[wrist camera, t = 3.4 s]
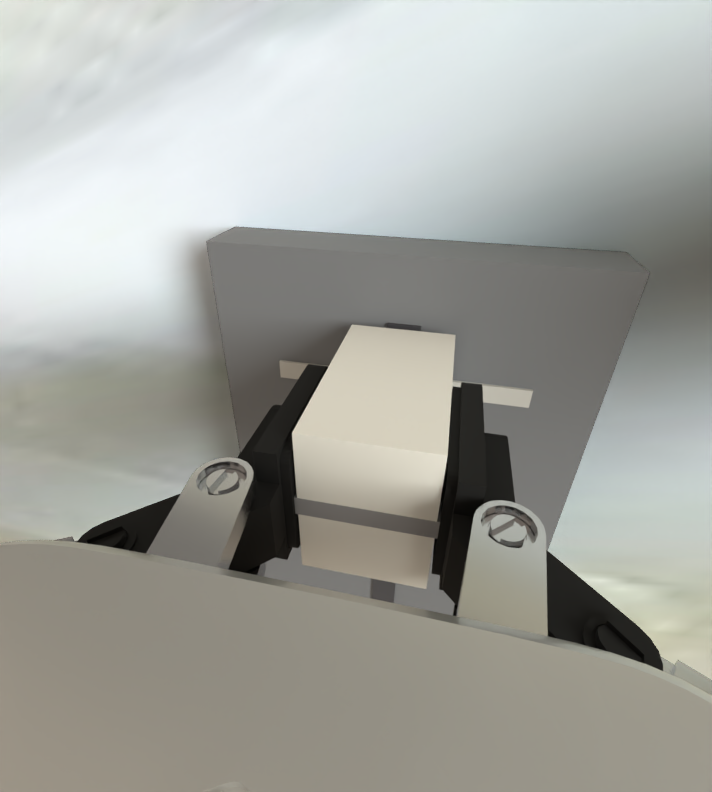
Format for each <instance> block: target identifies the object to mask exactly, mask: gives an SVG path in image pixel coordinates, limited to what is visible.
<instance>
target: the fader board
mask: <svg viewBox="0 0 712 792" xmlns="http://www.w3.org/2000/svg"><path fill="white" fill-rule="evenodd" d="M206 242H207V249H208V255H209V261H210V267H211V274H212V280H213V286H214V292H215V299H216V305H217V311H218V317H219V323H220V330H221V336H222V342H223V348H224V355H225V361H226V367H227V373H228V380H229V386H230V392H231V398H232V405H233V411H234V417H235V423H236V430H237V436H238V442H239V448H240V453H241V452H242V450H243V449H244V447H245V446H246V444H247V443H248V441H249V440H250V438H251V437H252V435H253V434H254V432H255V431H256V429H257V428H258V426H259V425H260V423H261V422H262V420H263V419H264V417H265V416H266V414H267V413H268V411H269V410H270V408H271V407H272V406H273V405H282V404H283V402H284V401H285V399H286V398H287V396H288V395H289V393H290V391H291V390H292V388H293V387H294V385H295V384H296V382H297V380H298V379H299V377H300V376H301V374H302V373H303V371H304V369H305V368H306V366H307V365H308V364H311V365H320V366H328V367H329V365H330V363H331V361H332V360H333V358H334V356H335V354H336V352H337V351H338V349H339V347H340V345H341V343H342V342H343V340H344V338H345V336H346V334H347V333H348V331H349V329H350V327H351V325H362V326H372V327H382V328H392V329H402V330H412V331H422V332H432V333H442V334H452V335H456V336H455V351H454V366H453V381H452V389H453V386H454V387H461V383H462V382H465V383H474V384H482V387H483V410H484V433H491V434H498V435H506V436H507V437H508V443H509V452H510V461H511V469H512V478H513V487H514V496H515V503H517V504H520V505H522V506H524V507H525V508H527V509H529V510H530V511H532V512H533V513H534V514H535V515H536V516H537V517H538V518H539V519H540V521H541V522H542V524H543V525H544V528H545V533H546V550H548V548H549V545H550V542H551V540H552V537H553V534H554V531H555V529H556V526H557V523H558V521H559V518H560V515H561V513H562V510H563V507H564V504H565V502H566V499H567V496H568V494H569V491H570V488H571V485H572V483H573V480H574V477H575V475H576V472H577V469H578V466H579V464H580V461H581V458H582V456H583V453H584V450H585V448H586V445H587V442H588V439H589V437H590V434H591V431H592V429H593V426H594V423H595V420H596V418H597V415H598V412H599V410H600V407H601V404H602V402H603V399H604V396H605V393H606V391H607V388H608V385H609V383H610V380H611V377H612V374H613V372H614V369H615V366H616V364H617V361H618V358H619V356H620V353H621V350H622V347H623V345H624V342H625V339H626V337H627V334H628V331H629V328H630V326H631V323H632V320H633V318H634V315H635V312H636V309H637V307H638V304H639V301H640V299H641V296H642V293H643V291H644V288H645V285H646V282H647V280H648V277H649V274H650V273H649V272H648V271H647V270H646V269H645V268H644V267H643V266H641V265H640V264H639V263H638V262H637V261H636V260H635V259H634V258H633V257H632V256H630V255H629V254H628V253H627V252H615V251H600V250H584V249H569V248H554V247H538V246H523V245H508V244H492V243H477V242H462V241H447V240H431V239H416V238H401V237H385V236H370V235H355V234H339V233H324V232H309V231H294V230H278V229H263V228H248V227H234V228H232V229H230V230H228V231H226V232H224V233H222V234H220V235H218V236H216V237H214V238H212V239H210V240H208V241H206ZM433 549H434V544H433ZM432 561H433V550H432V556H431V563H430V569H429V575H428V581H427V587H426V589H423V588H418V587H413V586H408V585H403V584H398V583H393V582H387V581H382V580H377V579H372V578H367V577H362V576H357V575H352V574H347V573H342V572H337V571H331V570H326V569H321V568H316V567H311V566H306V565H302V557H301V544H300V546H299V548H293V547H292V550H291V552H290V555H289V557H288V560H285V559H280V558H273V559H271V560H269V561H267V563H266V570H265V574H264V577H268V578H273V579H278V580H283V581H288V582H293V583H298V584H303V585H307V586H312V587H317V588H322V589H327V590H332V591H337V592H342V593H347V594H351V595H356V596H361V597H366V598H371V599H376V600H381V601H386V602H390V603H395V604H400V605H405V606H409V607H414V608H419V609H424V610H428V611H433V612H438V613H443V614H448V615H452V613H453V607H454V602H453V601H452V600H451V599H450V598H449V597H448V596H447V594H446V593H445V592H444V591H443V590H439V582H440V575H435V574H432Z"/></svg>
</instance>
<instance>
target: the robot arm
mask: <svg viewBox="0 0 712 792" xmlns="http://www.w3.org/2000/svg"><path fill="white" fill-rule="evenodd" d="M327 369H328V366H320V365H311V364H308V365H307V366H306V368H305V369H304V371H303V373H302V374H301V376H300V377H299V379H298V380H297V382H296V384H295V385H294V387H293V388H292V390H291V391H290V393H289V395H288V396H287V398H286V399H285V401H284V402H283V404H282V405H273V406H272V407H271V408H270V410H269V411H268V413H267V414H266V416H265V417H264V419H263V420H262V422H261V423H260V425H259V426H258V428H257V429H256V431H255V432H254V434H253V435H252V437H251V438H250V440H249V441H248V443H247V444H246V446H245V447H244V449H243V450H242V452H241V453H240V455H239V456H238V458H233V457H225V458H218V459H214V460H211V461H209V462H207V463H204V464H203V465H201V466H200V467H199V468H197V469H196V470H195V472H194V473H193V474H192V475H191V477H190V479H189V480H188V482H187V484H186V486H185V487H184V489H183V491H182V492H181V494H178V495H176V496H173V497H170V498H168V499H165V500H162V501H160V502H157V503H154V504H152V505H149V506H146V507H144V508H141V509H138V510H136V511H133V512H130V513H128V514H125V515H122V516H120V517H117V518H114V519H112V520H109V521H107V522H104V523H102V524H100V525H98V526H95V527H93V528H92V529H90V530H89V531H88V532H86V533H85V534H84V535H83V536H82V537H81V538H80V539H79V540H78V541H74V539H73V537H67V538H63V539H58V540H27V541H12V542H5V543H0V792H712V680H711V679H709V678H707V677H706V676H704V675H702V674H701V673H699V672H697V671H696V670H694V669H692V668H691V667H689V666H687V665H686V664H684V663H682V662H681V661H679V660H678V661H677V662H676V663H675V665H674V664H672V663H670V662H669V661H667V660H666V659H664V658H662V657H661V656H660V654H659V651H658V649H657V648H656V646H655V645H654V643H653V642H652V640H651V639H650V638H649V637H648V636H647V635H646V634H645V633H644V632H643V631H642V630H641V629H640V628H639V627H638V626H637V625H636V624H635V623H634V622H632V621H631V620H630V619H629V618H628V617H626V616H625V615H624V614H623V613H622V612H620V611H619V610H618V609H617V608H616V607H614V606H613V605H612V604H611V603H610V602H608V601H607V600H606V599H605V598H604V597H602V596H601V595H600V594H599V593H598V592H596V591H595V590H594V589H593V588H592V587H590V586H589V585H588V584H587V583H586V582H584V581H583V580H582V579H581V578H580V577H578V576H577V575H576V574H575V573H574V572H572V571H571V570H570V569H569V568H567V567H566V566H565V565H564V564H563V563H561V562H560V561H559V560H558V559H557V558H555V557H554V556H553V555H552V554H551V553H549V552H548V551H547V550H546V533H545V528H544V525H543V524H542V522H541V521H540V519H539V518H538V517H537V516H536V515H535V514H534V513H533V512H532V511H530V510H529V509H527V508H525V507H524V506H522V505H520V504H517V503H515V496H514V487H513V478H512V469H511V461H510V452H509V443H508V437H507V436H506V435H498V434H491V433H484V410H483V387H482V384H474V383H465V382H462V383H461V387H454V386H453V389H452V397H451V412H450V427H449V443H448V457H447V463H446V469H445V475H444V482H443V488H442V494H441V500H440V501H442V503H441V516H440V526H439V532H438V538H437V539H436V538H434V549H433V561H432V574H435V575H440V582H439V590H443V591H444V592H445V593H446V594H447V596H448V597H449V598H450V599H451V600H452V601H453V602H454V607H453V613H452V615H448V614H443V613H438V612H433V611H428V610H424V609H419V608H414V607H409V606H405V605H400V604H395V603H390V602H386V601H381V600H376V599H371V598H366V597H361V596H356V595H351V594H347V593H342V592H337V591H332V590H327V589H322V588H317V587H312V586H307V585H303V584H298V583H293V582H288V581H283V580H278V579H273V578H268V577H264V574H265V570H266V563H267V561H269V560H271V559H273V558H280V559H285V560H288V557H289V555H290V552H291V550H292V547H293V548H299V546H300V531H299V518H298V514H295V503H294V496H295V494H296V480H295V467H294V454H293V441H292V432H293V430H294V428H295V427H296V425H297V423H298V421H299V419H300V418H301V416H302V414H303V412H304V410H305V409H306V407H307V405H308V403H309V401H310V399H311V398H312V396H313V394H314V392H315V390H316V389H317V387H318V385H319V383H320V381H321V380H322V378H323V376H324V374H325V372H326V371H327Z"/></svg>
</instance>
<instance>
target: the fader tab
mask: <svg viewBox="0 0 712 792" xmlns="http://www.w3.org/2000/svg"><path fill="white" fill-rule="evenodd" d="M455 336H456V335H452V334H442V333H432V332H422V331H412V330H402V329H392V328H382V327H372V326H362V325H351V327H350V329H349V331H348V333H347V334H346V336H345V338H344V340H343V342H342V343H341V345H340V347H339V349H338V351H337V352H336V354H335V356H334V358H333V360H332V361H331V363H330V365H329V367H328V369H327V371H326V372H325V374H324V376H323V378H322V380H321V381H320V383H319V385H318V387H317V389H316V390H315V392H314V394H313V396H312V398H311V399H310V401H309V403H308V405H307V407H306V409H305V410H304V412H303V414H302V416H301V418H300V419H299V421H298V423H297V425H296V427H295V428H294V430H293V432H292V441H293V454H294V467H295V480H296V494H295V496H294V503H295V514H298V518H299V531H300V544H301V557H302V565H306V566H311V567H316V568H321V569H326V570H331V571H337V572H342V573H347V574H352V575H357V576H362V577H367V578H372V579H377V580H382V581H387V582H393V583H398V584H403V585H408V586H413V587H418V588H423V589H426V587H427V581H428V575H429V569H430V563H431V556H432V550H433V544H434V538H436V539H437V538H438V532H439V526H440V516H441V503H442V501H440V500H441V494H442V488H443V482H444V475H445V469H446V463H447V457H448V443H449V427H450V412H451V397H452V381H453V366H454V351H455Z"/></svg>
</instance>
